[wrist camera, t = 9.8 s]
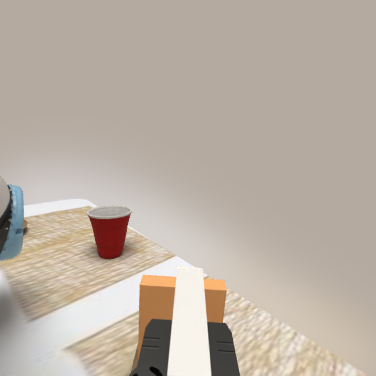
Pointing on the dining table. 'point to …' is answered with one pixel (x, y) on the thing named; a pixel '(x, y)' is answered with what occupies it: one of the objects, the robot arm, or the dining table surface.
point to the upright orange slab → (164, 300)
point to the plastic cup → (109, 229)
